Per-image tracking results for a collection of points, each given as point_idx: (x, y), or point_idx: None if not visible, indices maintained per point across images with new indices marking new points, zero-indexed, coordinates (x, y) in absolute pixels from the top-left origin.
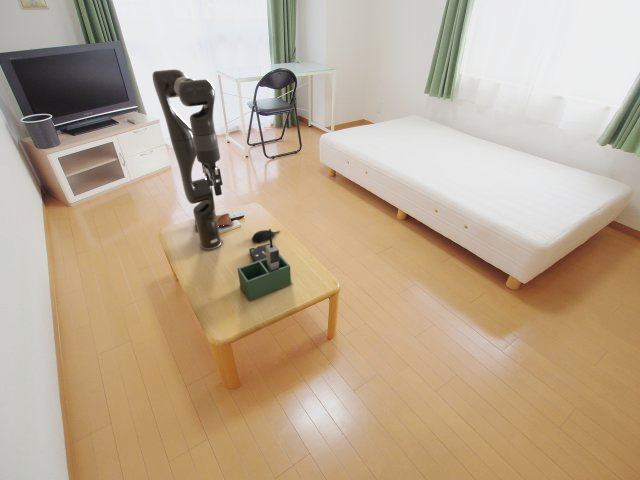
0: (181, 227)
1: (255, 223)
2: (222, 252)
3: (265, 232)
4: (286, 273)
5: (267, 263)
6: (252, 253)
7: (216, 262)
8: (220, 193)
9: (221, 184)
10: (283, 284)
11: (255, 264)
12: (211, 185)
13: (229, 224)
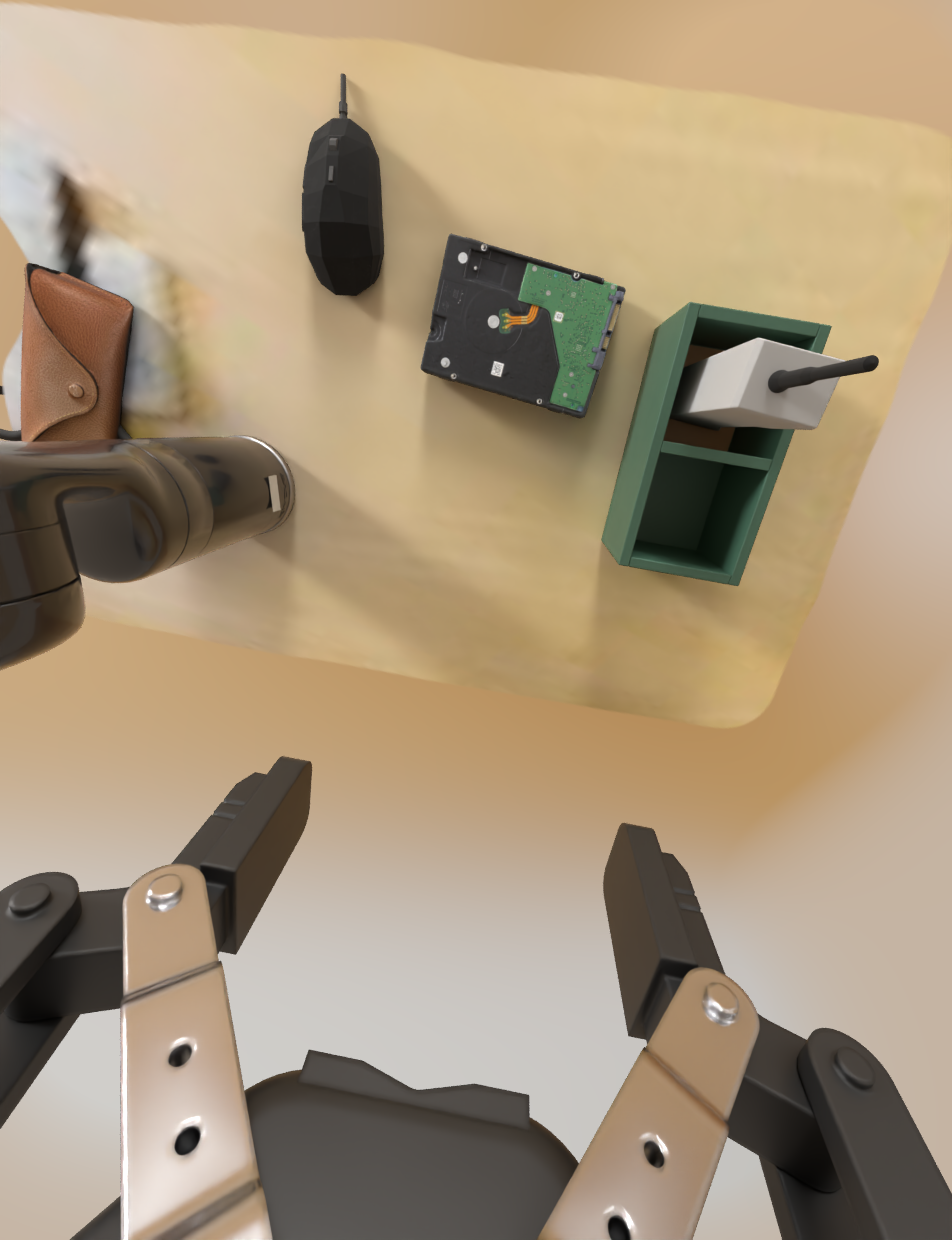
0: None
1: (177, 157)
2: (339, 477)
3: (346, 185)
4: None
5: (694, 414)
6: (467, 378)
7: (391, 535)
8: (675, 871)
9: (875, 1087)
10: None
11: (652, 472)
12: (305, 791)
13: (126, 316)
